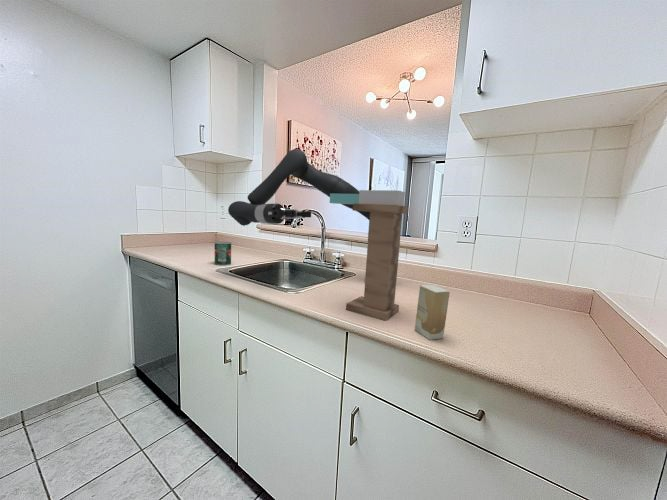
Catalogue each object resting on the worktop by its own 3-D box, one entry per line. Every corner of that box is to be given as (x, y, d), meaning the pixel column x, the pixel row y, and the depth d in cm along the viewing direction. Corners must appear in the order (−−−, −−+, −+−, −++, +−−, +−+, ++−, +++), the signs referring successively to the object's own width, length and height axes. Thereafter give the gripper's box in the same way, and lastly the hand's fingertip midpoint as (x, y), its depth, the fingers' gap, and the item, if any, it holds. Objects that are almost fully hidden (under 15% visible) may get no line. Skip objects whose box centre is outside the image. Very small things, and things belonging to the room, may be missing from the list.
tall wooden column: (361, 301, 93) (368, 205, 88) (398, 311, 86) (408, 206, 82) (345, 309, 84) (352, 203, 80) (385, 320, 78) (396, 205, 73)
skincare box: (413, 329, 72) (418, 284, 71) (427, 328, 74) (432, 283, 72) (430, 341, 67) (435, 291, 65) (444, 339, 68) (450, 290, 66)
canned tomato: (212, 263, 140) (212, 241, 139) (227, 262, 146) (227, 241, 144) (217, 266, 135) (217, 243, 133) (233, 264, 140) (233, 243, 138)
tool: (327, 202, 88) (328, 189, 87) (336, 203, 92) (336, 191, 91) (397, 205, 76) (398, 190, 75) (403, 206, 80) (404, 192, 79)
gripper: (255, 202, 99) (289, 201, 90) (282, 204, 111) (315, 204, 102) (255, 223, 100) (289, 224, 91) (282, 223, 112) (315, 224, 103)
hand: (303, 213), depth 97 cm, fingers open, 8 cm apart
